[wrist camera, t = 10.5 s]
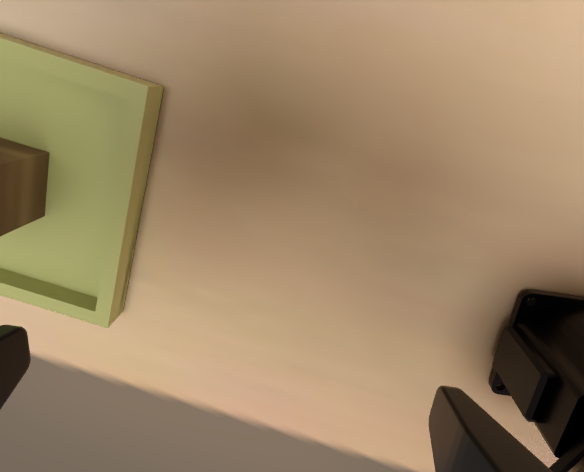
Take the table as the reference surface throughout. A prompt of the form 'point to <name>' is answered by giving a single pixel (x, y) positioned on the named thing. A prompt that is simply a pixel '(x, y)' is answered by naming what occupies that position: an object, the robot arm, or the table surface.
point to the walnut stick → (21, 184)
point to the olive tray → (76, 178)
